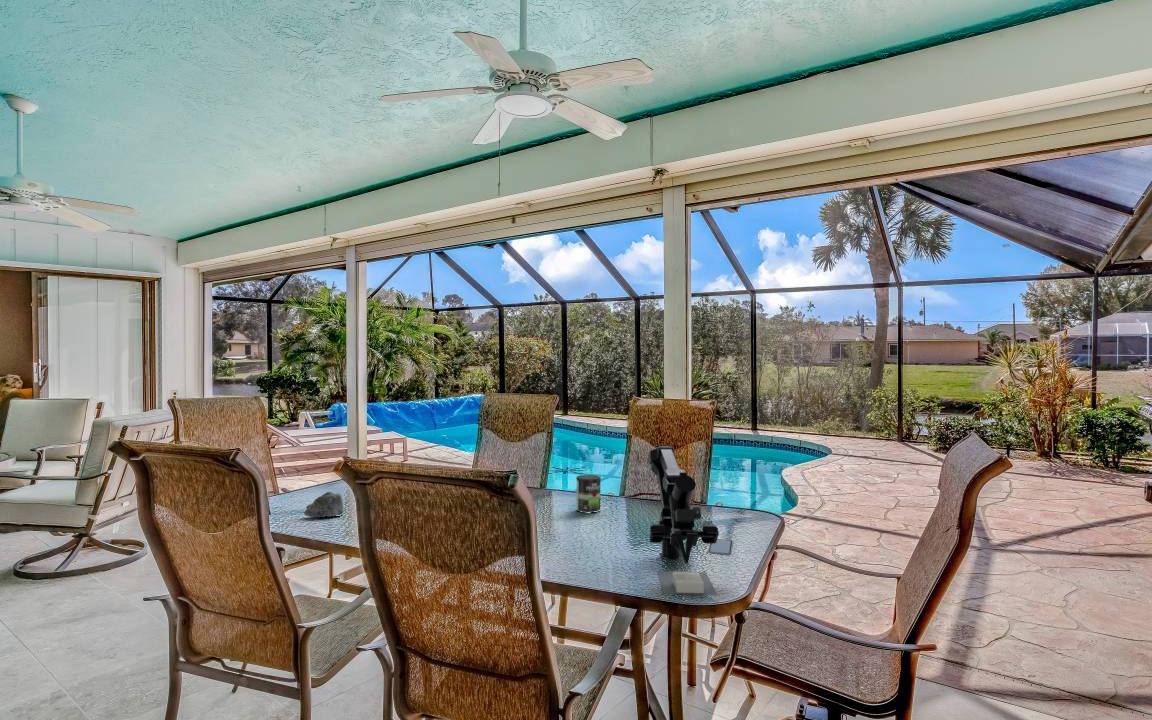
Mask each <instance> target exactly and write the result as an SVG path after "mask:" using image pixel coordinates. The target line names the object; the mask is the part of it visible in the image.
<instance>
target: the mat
mask: <svg viewBox="0 0 1152 720" xmlns="http://www.w3.org/2000/svg"><path fill="white" fill-rule="evenodd" d="M673 572H674V571H663V570H662V571H659V570H658V571H656V573H657V577H658V581H659V584H660V588H661V590H662V594H663V595H691V594H690V593H677V592H676V589H675V586H674V584H673ZM697 572H698V573H699V575H700V577H701V579H702V581H703V583H704V593H702V594H701V595H703V596H704V595H708V596H709V595H713V596H714V595H715V596H717V595H718V593H717V591H716V589H715V587H714V586H713V584H712V582H711V580H710V578H709V576H708V574H707V572H706V571H697Z"/></svg>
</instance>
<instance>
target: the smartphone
mask: <svg viewBox="0 0 1152 720" xmlns="http://www.w3.org/2000/svg"><path fill="white" fill-rule="evenodd" d="M733 544H734V540H732V539H725V538H724V539H723V538H717V542H716V543H714V544H709V546H708V549H707V553H708V554H711V553H712V554H713V555H722V556H731V555H732V552H733V546H734V545H733Z"/></svg>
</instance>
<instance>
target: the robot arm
mask: <svg viewBox="0 0 1152 720" xmlns="http://www.w3.org/2000/svg"><path fill="white" fill-rule="evenodd" d="M647 463H648V465H649V466H650V470H651V472H652V473H653V474H654V475H655V476H656V479H657V485H658V493H659V498H660V503H661V508H662V509H661V512H660V514H659V515H660V516H659V520H658V521H657V522H658V523H657V524H653V523H652V524H651V525H650V527H649V533H648V534H649V535H648V536H649V537H648V538H649V542H650V543H653V544H657V543H658V544H661V552H659V556H660V558H666V559H668V560H678V559H679V558H681V559H682V560H683V563H684V564H689V561H690V555H691V554H690V553H691V551H692V548H693V547H696V546H697V544H698V539H699V538H700V539H701V542H703V544H705V545H707V544H709V545H710V544H714V543H716V542H717V539H719V538H718V537H719V534H720V533H719V528H718V526H717V525H715V524H712V525H709V524H703V525H702V529H694V528H695V526H696V525H695V520H696V521H697V520H698V521H699V520H701V519H702V513H701V507H700V506H693V508H691V504H690V503H691V502H690V501H692V498H693V496H694V493H695V489H696V486H697V485H696V481H695V479H693V477H691V476H689V475H688V473H687V472H686V470H683V469H681V468H680V467H679V464H678V462H677V460H676V457H675V450H674V447H673V446H667V445H663V446H662V445H659V446H658V447H656V448H654V449H651V450H650V451H648V454H647ZM684 541H685V544H684Z"/></svg>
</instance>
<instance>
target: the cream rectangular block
mask: <svg viewBox="0 0 1152 720" xmlns="http://www.w3.org/2000/svg"><path fill="white" fill-rule="evenodd" d="M672 572H673V584H674V586H675V589H676V592H677V593H690V594H689V595H703V594H702V593H704V583H703V581H702V579H701V577H700V575H699V573H698V572H699V571H672Z"/></svg>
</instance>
